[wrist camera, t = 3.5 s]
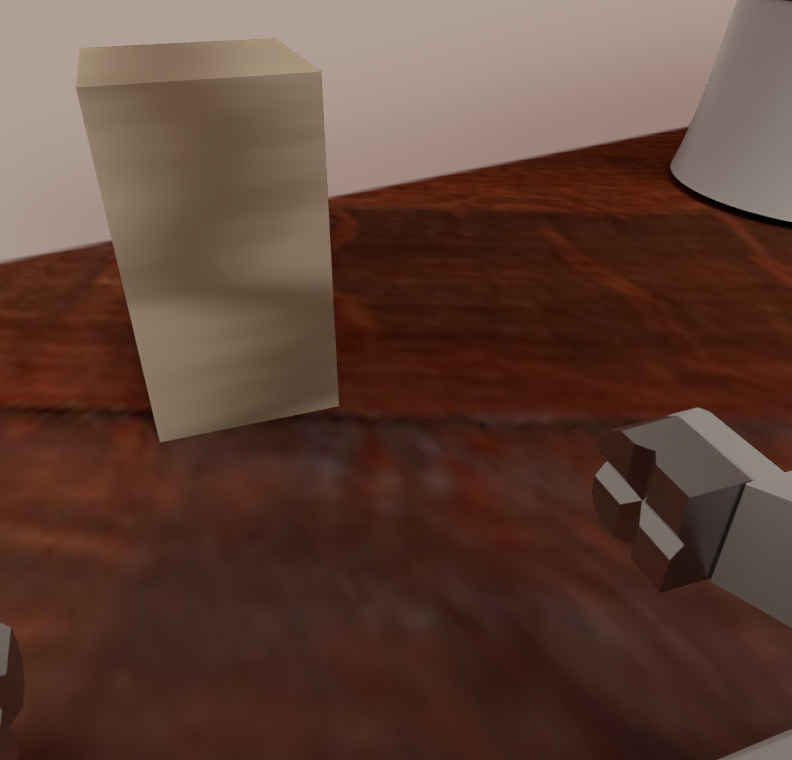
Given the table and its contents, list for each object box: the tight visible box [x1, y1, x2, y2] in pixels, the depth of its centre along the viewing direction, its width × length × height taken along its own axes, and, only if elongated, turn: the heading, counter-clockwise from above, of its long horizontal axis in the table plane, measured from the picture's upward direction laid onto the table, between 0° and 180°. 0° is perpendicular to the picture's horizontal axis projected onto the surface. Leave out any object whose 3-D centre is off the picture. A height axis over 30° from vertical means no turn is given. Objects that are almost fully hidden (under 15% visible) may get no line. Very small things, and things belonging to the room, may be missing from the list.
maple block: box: [76, 38, 339, 442], centre depth 19 cm, size 5×5×9 cm
